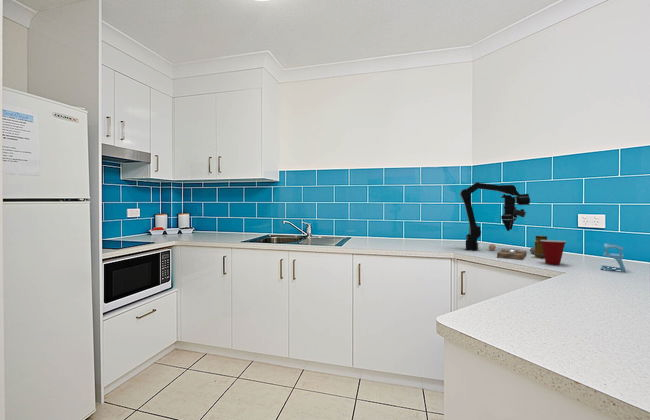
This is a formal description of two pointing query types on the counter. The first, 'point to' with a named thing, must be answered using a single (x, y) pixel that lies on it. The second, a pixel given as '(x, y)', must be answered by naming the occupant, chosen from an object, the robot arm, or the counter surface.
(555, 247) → the plastic cup
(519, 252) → the brown recessed board
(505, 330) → the counter surface
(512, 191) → the robot arm
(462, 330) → the counter surface
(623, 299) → the counter surface
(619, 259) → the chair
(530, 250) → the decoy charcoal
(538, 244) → the condiment
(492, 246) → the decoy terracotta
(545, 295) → the counter surface
